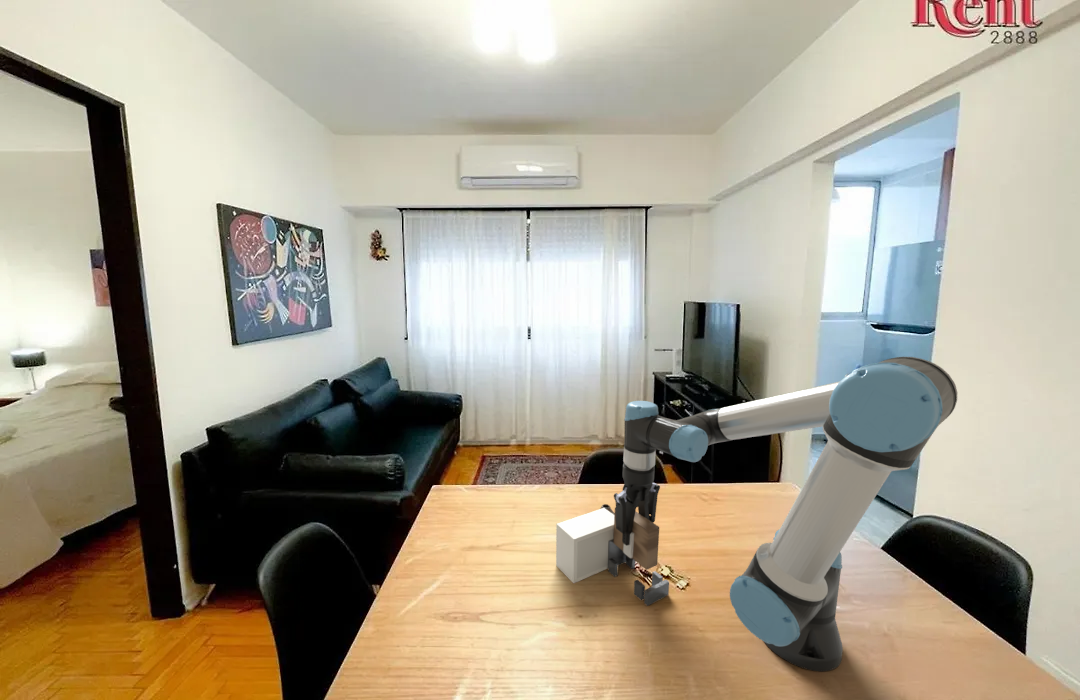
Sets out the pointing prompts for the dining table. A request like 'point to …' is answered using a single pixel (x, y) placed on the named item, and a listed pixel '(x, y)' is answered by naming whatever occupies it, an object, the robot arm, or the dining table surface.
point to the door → (641, 540)
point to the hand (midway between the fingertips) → (634, 552)
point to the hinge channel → (651, 594)
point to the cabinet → (584, 544)
